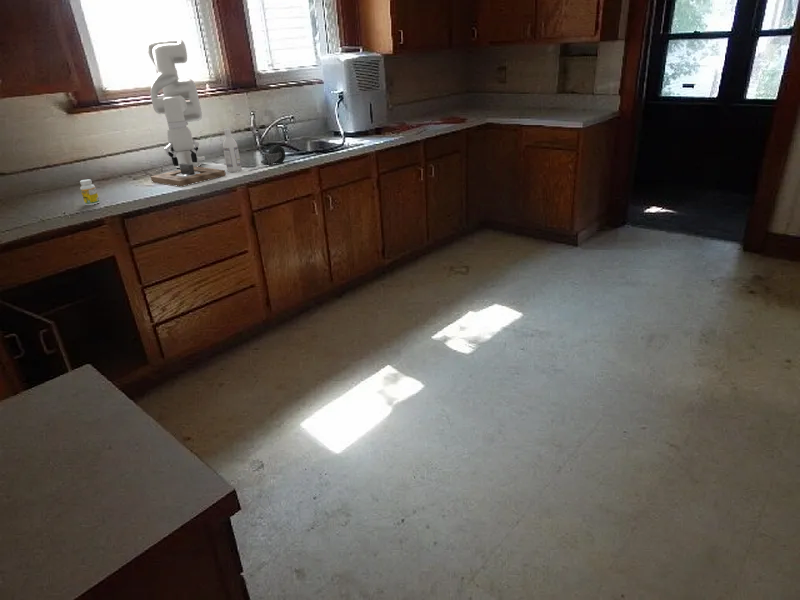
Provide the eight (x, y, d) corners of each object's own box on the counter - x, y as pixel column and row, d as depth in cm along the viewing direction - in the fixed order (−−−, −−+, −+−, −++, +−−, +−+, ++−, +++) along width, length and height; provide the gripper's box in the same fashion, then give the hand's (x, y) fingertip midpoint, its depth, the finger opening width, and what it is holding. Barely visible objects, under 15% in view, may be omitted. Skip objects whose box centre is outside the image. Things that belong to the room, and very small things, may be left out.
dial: (192, 174, 258) (189, 161, 255) (205, 176, 252) (203, 162, 249) (172, 179, 250) (168, 165, 247) (185, 181, 244) (182, 167, 241)
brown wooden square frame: (196, 171, 266) (195, 166, 265) (225, 175, 253) (224, 169, 251) (152, 181, 249) (150, 175, 248) (180, 186, 236) (179, 180, 234)
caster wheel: (280, 163, 278) (258, 166, 267) (279, 144, 275) (256, 146, 264) (288, 164, 275) (265, 167, 264) (286, 145, 272) (264, 146, 261)
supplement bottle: (102, 203, 216) (95, 179, 212) (89, 206, 212) (81, 182, 208) (95, 201, 219) (88, 178, 215) (82, 204, 215) (75, 181, 211)
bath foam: (240, 168, 266) (233, 127, 257) (243, 171, 260) (235, 128, 252) (226, 170, 263) (218, 128, 255) (228, 173, 258) (220, 130, 249)
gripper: (189, 123, 249) (197, 160, 256) (155, 128, 236) (164, 167, 243) (198, 123, 245) (206, 161, 252) (164, 128, 232) (173, 168, 239)
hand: (185, 164), depth 247 cm, fingers open, 9 cm apart
